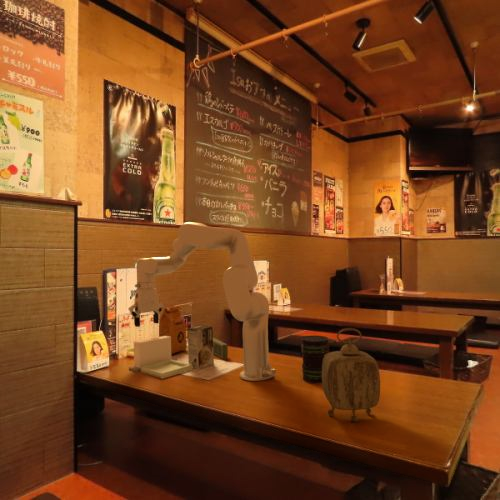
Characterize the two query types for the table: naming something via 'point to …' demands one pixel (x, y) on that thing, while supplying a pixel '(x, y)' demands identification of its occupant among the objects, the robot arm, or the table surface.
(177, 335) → the coffee package
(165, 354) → the panel unit
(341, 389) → the tabletop clock
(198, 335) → the coffee box
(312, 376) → the storage jar
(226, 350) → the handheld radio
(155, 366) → the tray
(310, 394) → the table surface
